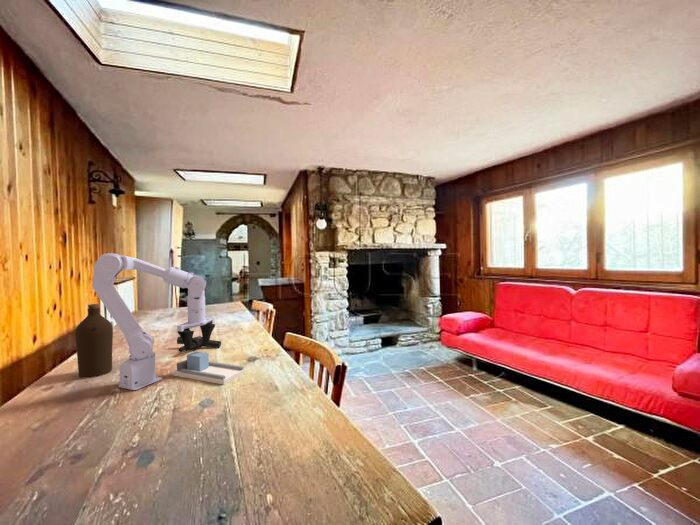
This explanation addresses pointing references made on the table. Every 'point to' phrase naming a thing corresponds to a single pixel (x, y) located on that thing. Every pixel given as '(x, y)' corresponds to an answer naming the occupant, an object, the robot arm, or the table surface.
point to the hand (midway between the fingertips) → (197, 346)
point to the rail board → (211, 372)
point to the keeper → (197, 361)
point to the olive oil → (94, 344)
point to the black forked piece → (198, 343)
